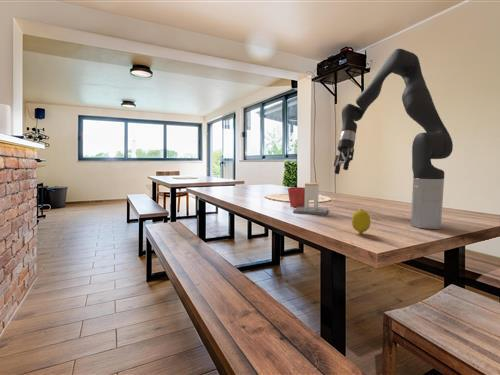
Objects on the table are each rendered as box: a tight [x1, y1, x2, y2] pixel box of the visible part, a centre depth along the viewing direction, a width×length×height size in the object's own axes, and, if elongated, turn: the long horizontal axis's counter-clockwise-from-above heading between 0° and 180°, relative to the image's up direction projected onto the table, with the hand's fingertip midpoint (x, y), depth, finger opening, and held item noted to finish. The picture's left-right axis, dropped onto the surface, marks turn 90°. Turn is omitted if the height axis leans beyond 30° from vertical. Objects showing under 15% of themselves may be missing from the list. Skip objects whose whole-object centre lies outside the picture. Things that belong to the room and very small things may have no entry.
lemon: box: [351, 208, 372, 235], centre depth 88 cm, size 6×6×8 cm
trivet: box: [292, 206, 329, 216], centre depth 129 cm, size 14×14×1 cm
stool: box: [304, 182, 320, 210], centre depth 129 cm, size 6×6×12 cm
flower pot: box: [287, 186, 305, 208], centre depth 145 cm, size 11×11×10 cm
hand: (340, 171), depth 134 cm, fingers open, 8 cm apart
